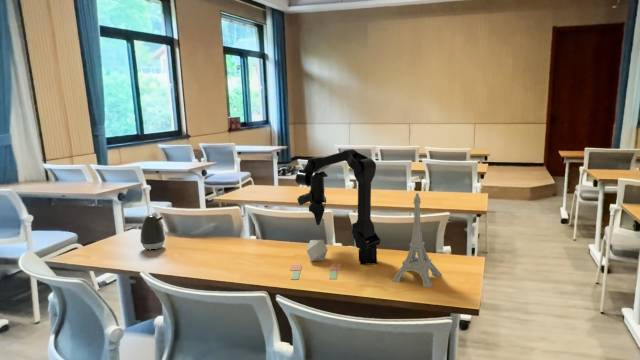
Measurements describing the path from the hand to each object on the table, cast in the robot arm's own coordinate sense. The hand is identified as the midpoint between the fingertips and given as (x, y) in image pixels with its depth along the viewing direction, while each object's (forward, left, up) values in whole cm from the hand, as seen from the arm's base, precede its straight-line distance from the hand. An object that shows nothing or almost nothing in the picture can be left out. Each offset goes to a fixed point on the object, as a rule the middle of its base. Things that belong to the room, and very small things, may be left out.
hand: (318, 223), depth 186 cm
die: (0, +14, -11) cm, 18 cm away
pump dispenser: (+74, -3, -11) cm, 75 cm away
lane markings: (0, +27, -11) cm, 29 cm away
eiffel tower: (-36, +33, -11) cm, 50 cm away
